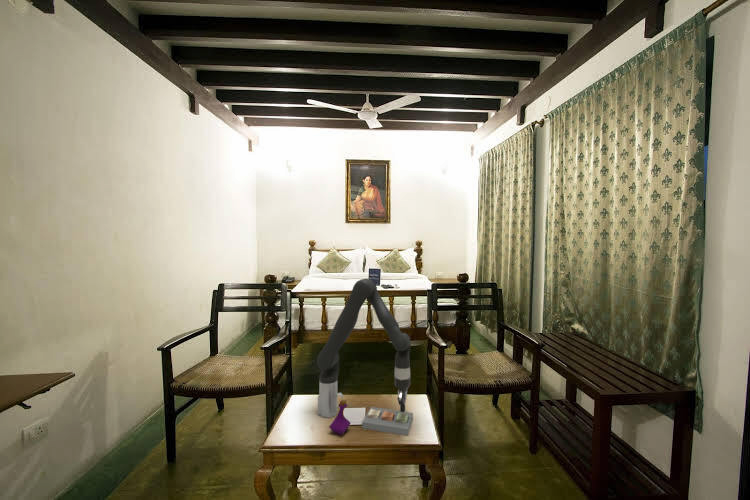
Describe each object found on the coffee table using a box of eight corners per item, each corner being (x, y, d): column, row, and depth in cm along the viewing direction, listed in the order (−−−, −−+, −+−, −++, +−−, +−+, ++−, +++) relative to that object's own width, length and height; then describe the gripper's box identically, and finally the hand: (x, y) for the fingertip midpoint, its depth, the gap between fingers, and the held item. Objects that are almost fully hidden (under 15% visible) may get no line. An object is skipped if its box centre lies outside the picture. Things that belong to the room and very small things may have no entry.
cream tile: (368, 418, 162) (368, 414, 162) (370, 413, 166) (370, 409, 166) (377, 419, 160) (377, 415, 160) (380, 414, 165) (380, 410, 165)
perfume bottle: (351, 429, 156) (350, 391, 156) (342, 438, 149) (342, 398, 149) (337, 425, 159) (337, 388, 159) (328, 434, 153) (328, 395, 152)
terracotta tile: (381, 420, 160) (381, 416, 160) (384, 415, 164) (384, 411, 164) (392, 421, 158) (392, 417, 158) (394, 416, 163) (394, 412, 163)
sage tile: (396, 422, 158) (396, 418, 158) (398, 417, 163) (398, 413, 163) (406, 423, 156) (406, 419, 156) (408, 418, 161) (408, 414, 161)
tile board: (362, 428, 157) (362, 422, 157) (370, 412, 172) (370, 406, 172) (407, 435, 151) (407, 429, 151) (412, 418, 166) (412, 412, 166)
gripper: (397, 369, 166) (397, 403, 167) (391, 380, 154) (392, 417, 154) (412, 371, 164) (412, 405, 165) (407, 382, 152) (408, 419, 152)
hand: (402, 411), depth 159 cm, fingers closed
